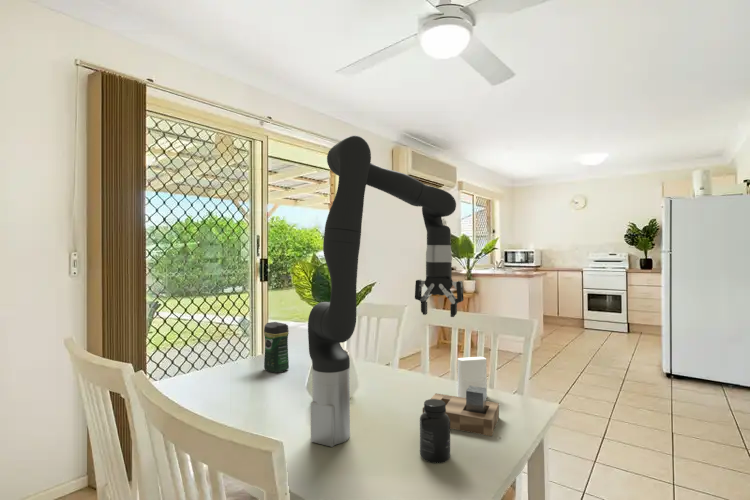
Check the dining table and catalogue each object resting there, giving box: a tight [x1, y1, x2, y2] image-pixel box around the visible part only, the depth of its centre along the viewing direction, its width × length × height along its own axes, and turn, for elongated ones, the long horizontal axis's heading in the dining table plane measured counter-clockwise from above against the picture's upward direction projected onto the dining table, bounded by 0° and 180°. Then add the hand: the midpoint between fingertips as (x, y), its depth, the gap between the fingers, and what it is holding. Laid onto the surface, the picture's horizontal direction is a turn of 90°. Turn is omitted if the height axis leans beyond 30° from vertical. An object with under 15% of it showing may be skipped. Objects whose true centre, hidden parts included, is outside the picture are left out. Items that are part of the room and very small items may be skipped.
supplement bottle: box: [419, 398, 451, 464], centre depth 87 cm, size 7×7×12 cm
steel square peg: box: [466, 386, 487, 414], centre depth 104 cm, size 4×4×9 cm
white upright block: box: [457, 356, 488, 398], centre depth 123 cm, size 9×9×12 cm
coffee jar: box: [263, 321, 290, 373], centre depth 152 cm, size 10×8×19 cm
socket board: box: [422, 393, 500, 437], centre depth 106 cm, size 12×18×4 cm, turn 64°
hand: (438, 315), depth 115 cm, fingers open, 8 cm apart
